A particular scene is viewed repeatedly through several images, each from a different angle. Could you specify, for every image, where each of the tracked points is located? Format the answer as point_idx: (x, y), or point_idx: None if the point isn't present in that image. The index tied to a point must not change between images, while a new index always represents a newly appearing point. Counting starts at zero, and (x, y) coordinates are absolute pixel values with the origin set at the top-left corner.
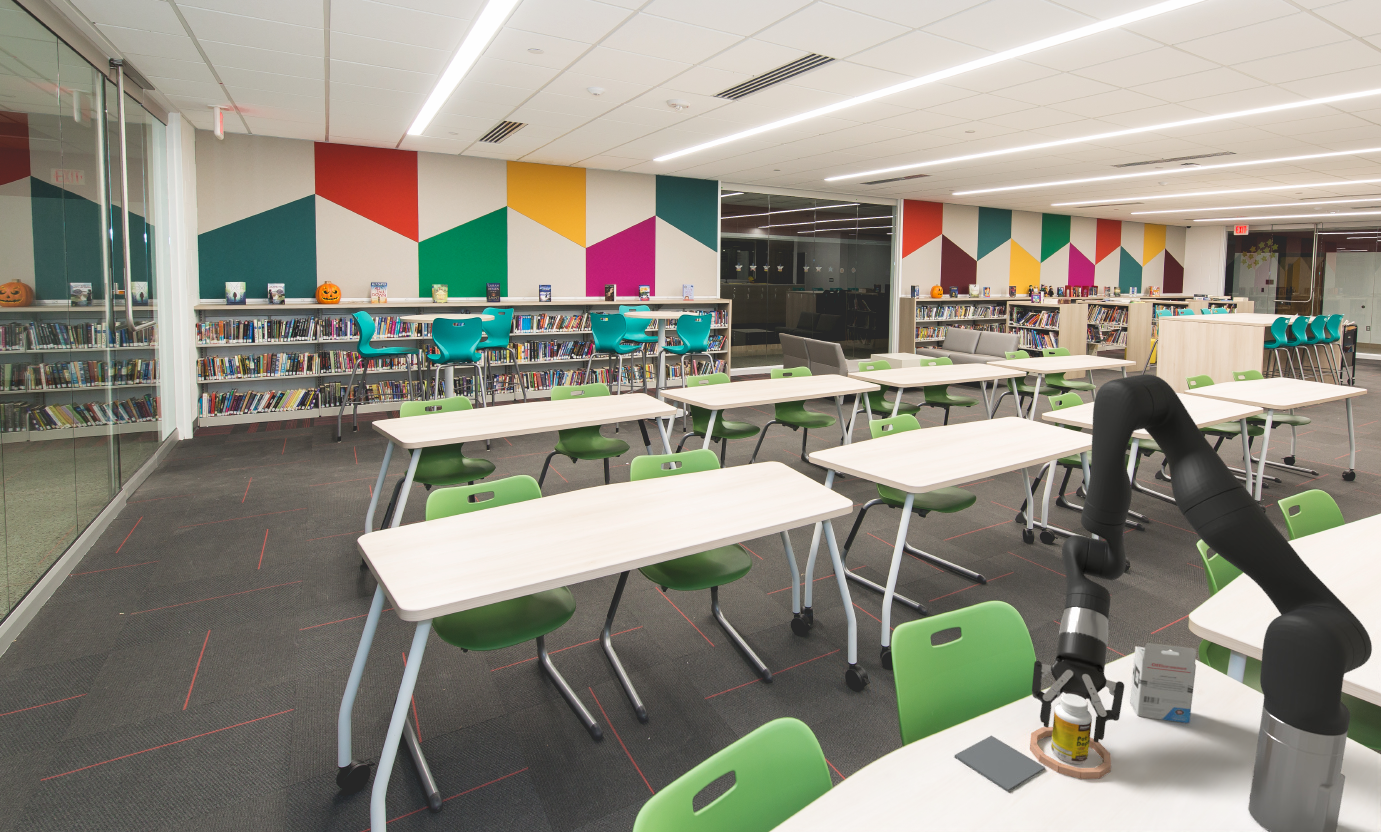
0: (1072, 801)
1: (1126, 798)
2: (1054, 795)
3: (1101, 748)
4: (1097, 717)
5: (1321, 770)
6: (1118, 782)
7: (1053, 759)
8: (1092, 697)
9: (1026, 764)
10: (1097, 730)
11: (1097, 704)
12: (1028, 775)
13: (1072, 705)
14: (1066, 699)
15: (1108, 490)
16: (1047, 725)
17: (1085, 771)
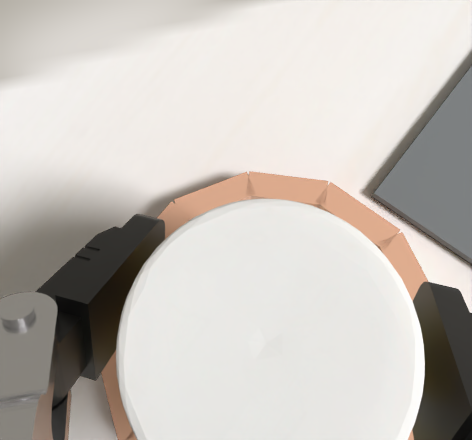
0: (293, 61)
1: (121, 132)
2: (347, 69)
3: None
4: (84, 296)
5: None
6: (120, 209)
7: (346, 221)
8: (17, 435)
9: (445, 186)
10: (126, 237)
11: (12, 389)
12: (436, 121)
13: (305, 209)
14: (364, 320)
15: None
16: (421, 290)
17: (230, 182)
